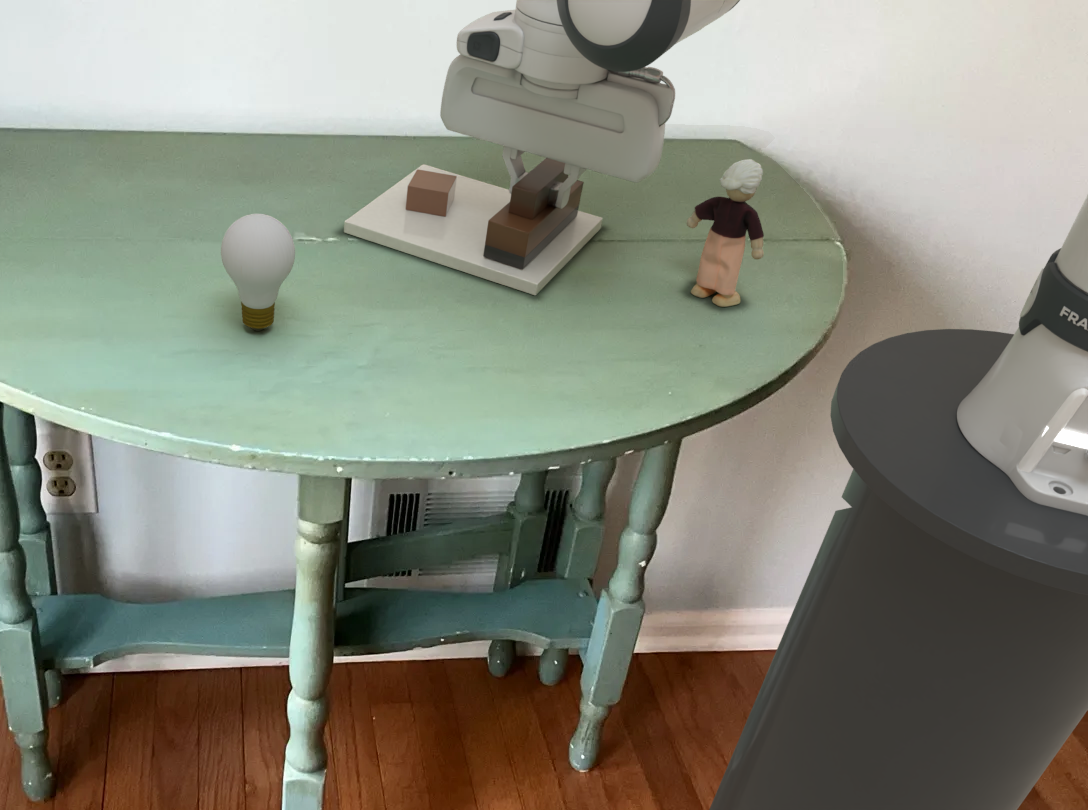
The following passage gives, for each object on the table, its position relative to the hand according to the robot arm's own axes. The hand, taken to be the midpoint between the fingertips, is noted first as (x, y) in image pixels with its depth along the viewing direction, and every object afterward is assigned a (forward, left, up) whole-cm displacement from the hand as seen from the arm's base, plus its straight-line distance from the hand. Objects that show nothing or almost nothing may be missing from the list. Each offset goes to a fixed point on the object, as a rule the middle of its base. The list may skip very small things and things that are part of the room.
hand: (537, 199), depth 110 cm
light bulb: (+13, +27, -5) cm, 30 cm away
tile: (+6, 0, -5) cm, 8 cm away
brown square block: (+11, 0, -4) cm, 12 cm away
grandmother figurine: (-17, -2, -5) cm, 18 cm away
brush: (0, 0, -4) cm, 4 cm away
